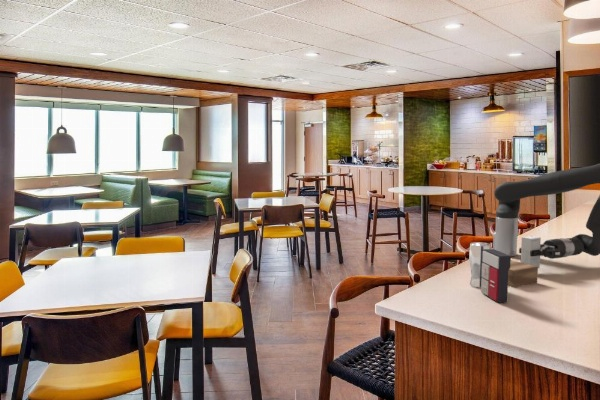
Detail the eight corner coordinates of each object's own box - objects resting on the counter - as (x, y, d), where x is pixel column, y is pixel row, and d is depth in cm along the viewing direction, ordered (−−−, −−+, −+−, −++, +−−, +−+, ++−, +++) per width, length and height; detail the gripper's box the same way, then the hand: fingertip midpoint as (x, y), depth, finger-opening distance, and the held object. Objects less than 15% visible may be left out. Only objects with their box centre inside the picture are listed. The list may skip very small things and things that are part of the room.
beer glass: (488, 283, 165) (490, 242, 164) (490, 289, 159) (491, 246, 157) (468, 282, 168) (469, 241, 166) (468, 287, 161) (469, 245, 160)
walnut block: (486, 279, 172) (486, 263, 171) (509, 275, 177) (509, 259, 176) (513, 287, 161) (514, 270, 160) (537, 283, 166) (537, 266, 165)
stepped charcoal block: (479, 292, 155) (480, 249, 154) (491, 292, 156) (493, 248, 154) (496, 303, 144) (497, 256, 143) (509, 302, 145) (511, 255, 143)
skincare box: (530, 270, 175) (531, 239, 174) (519, 267, 179) (520, 237, 178) (540, 268, 178) (541, 237, 177) (529, 265, 182) (531, 235, 181)
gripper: (543, 235, 189) (511, 239, 183) (575, 242, 176) (541, 246, 170) (542, 253, 190) (510, 257, 184) (574, 261, 176) (540, 266, 171)
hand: (525, 252), depth 177 cm, fingers closed on skincare box, 4 cm apart
